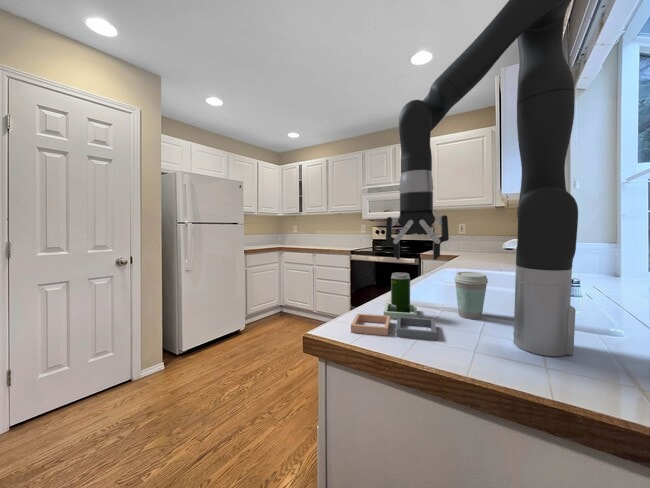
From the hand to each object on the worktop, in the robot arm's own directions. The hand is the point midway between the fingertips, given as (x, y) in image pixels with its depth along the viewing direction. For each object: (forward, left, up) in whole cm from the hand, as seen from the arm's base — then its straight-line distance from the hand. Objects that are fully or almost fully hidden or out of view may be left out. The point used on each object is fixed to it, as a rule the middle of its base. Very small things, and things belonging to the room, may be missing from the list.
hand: (416, 259), depth 68 cm
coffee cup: (-15, -15, -18) cm, 28 cm away
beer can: (+4, -12, -18) cm, 22 cm away
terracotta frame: (+11, 0, -18) cm, 21 cm away
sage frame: (+4, -12, -18) cm, 22 cm away
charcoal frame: (0, 0, -18) cm, 18 cm away
